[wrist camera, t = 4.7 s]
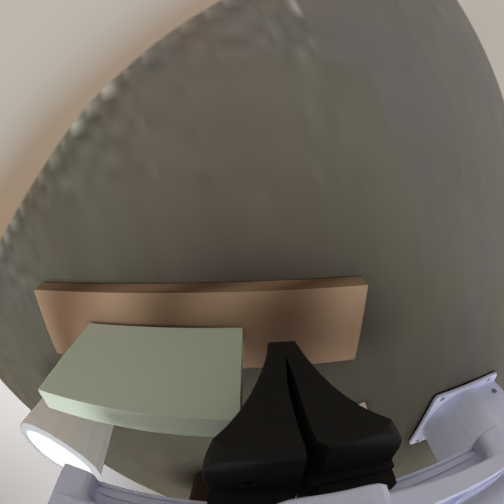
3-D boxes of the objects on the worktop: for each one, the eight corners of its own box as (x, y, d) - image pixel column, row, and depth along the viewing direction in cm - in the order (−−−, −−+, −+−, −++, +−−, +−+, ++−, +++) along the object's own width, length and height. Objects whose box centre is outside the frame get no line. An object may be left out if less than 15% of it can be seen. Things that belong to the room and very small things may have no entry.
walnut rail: (360, 276, 15) (368, 284, 14) (349, 347, 16) (354, 359, 15) (43, 282, 15) (34, 289, 14) (64, 344, 16) (57, 353, 15)
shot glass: (86, 356, 17) (43, 423, 10) (141, 416, 19) (119, 484, 12) (44, 371, 18) (7, 423, 11) (92, 423, 20) (68, 477, 13)
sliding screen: (242, 327, 14) (239, 419, 8) (243, 345, 14) (241, 437, 9) (89, 323, 14) (37, 389, 8) (95, 339, 14) (49, 407, 9)
